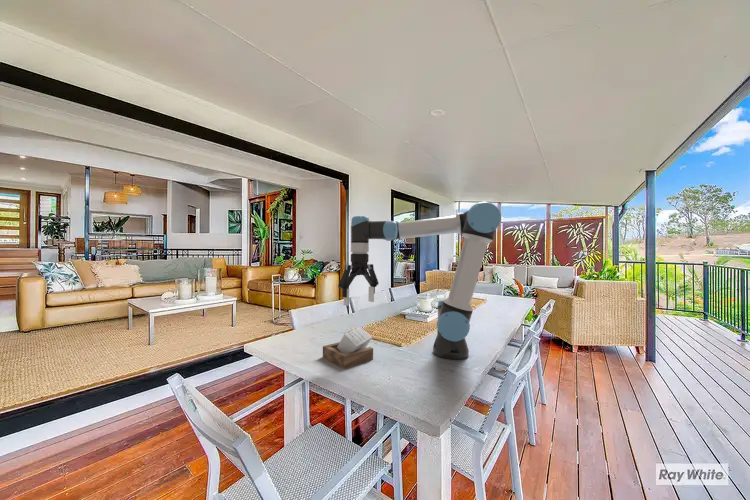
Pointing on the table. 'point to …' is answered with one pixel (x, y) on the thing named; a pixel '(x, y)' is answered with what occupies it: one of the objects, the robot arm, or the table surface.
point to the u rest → (346, 355)
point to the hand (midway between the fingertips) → (359, 303)
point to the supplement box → (354, 341)
